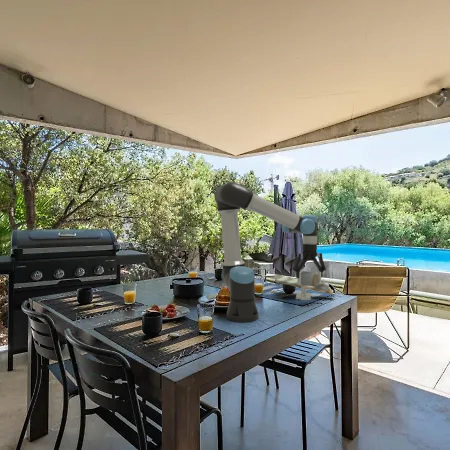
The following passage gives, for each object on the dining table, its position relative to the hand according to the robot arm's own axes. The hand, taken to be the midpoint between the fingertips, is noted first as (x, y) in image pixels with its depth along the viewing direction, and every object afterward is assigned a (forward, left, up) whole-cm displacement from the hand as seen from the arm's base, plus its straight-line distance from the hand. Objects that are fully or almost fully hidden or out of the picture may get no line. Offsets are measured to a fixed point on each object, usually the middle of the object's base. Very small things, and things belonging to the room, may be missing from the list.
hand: (309, 283), depth 180 cm
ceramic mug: (0, +1, -1) cm, 1 cm away
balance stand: (+3, +14, -11) cm, 18 cm away
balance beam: (+3, +14, -5) cm, 15 cm away
